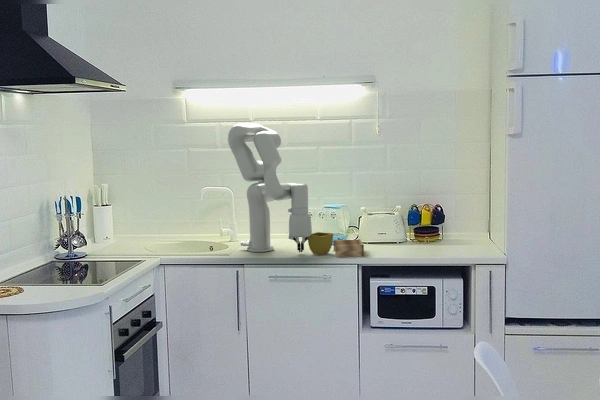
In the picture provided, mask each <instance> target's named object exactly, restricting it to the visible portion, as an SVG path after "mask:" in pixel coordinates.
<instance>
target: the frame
mask: <svg viewBox="0 0 600 400" xmlns="http://www.w3.org/2000/svg"><path fill="white" fill-rule="evenodd" d="M333 251H334V252H335V257H336V258H338V257H341V258H342V257H345V258H346V257H364V255H365V254H364V253H365V245H364V243H363V242H362V240H361V239H359V238H358V239H333Z"/></svg>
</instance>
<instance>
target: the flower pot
mask: <svg viewBox="0 0 600 400" xmlns="http://www.w3.org/2000/svg"><path fill="white" fill-rule="evenodd" d="M307 238H308V240H307V242H308V243H307V244H308V247H309V250H310V251H311V253H312V254H314V255H321V256H322V255H326V254H328V253H330V251H331V249H332V247H333V246H332V245H333V243H334V233H331V232H321V231H317V232H314V233H312V235H311V236H309V237H307Z"/></svg>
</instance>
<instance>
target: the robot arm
mask: <svg viewBox="0 0 600 400" xmlns="http://www.w3.org/2000/svg"><path fill="white" fill-rule="evenodd" d="M227 135H228V136H227V141H228V142H227V143H228V146H229V149H230V151H231V153H232V154H233V156H234V159H235V161H236V164H237V166H238V169H239V172H240V174H241V176H242V178H243V180H244V181H245V182H249V183H250V182H251V183H252V182H255V183H252V184H250V185H249V186H248V187H247V190H246V199H247V204H248V213H249V214H248V215H249V216H248V217H249V240H247V241H240V247H247V248H246V251H248V252H251V253H252V252H253V253H266V252H271V251H272V252H273V251H274V250H275V248H274V247H275V246H272V244H271V214H270V212H271V211H270V208H269V205H268V202H273V201H278V202H279V201H284V200H286V201H287V200H290V201H291V202H290V203H291V204H290V205H291V208H288V211H287V212H288V213H291V214H289V219H288V239H289V240H291V241H294V242H295V243H296V245H297V246H296V247H297V251H298V253H303V251H304V250H305V243H306V242H308V238H307V237H309V236H311V235H312V234H313V233H312V231H313V229H312V218H311V214H310V213H309V195H308V194H309V188H308V185H307V184H306V183H294V182H281V183H280V181H279V178H278V176H277V168H278V166H279V165H280V164H281V162H282V157H281V156H280V153H279V151H278V148H280V147H281V143H282V139H281V138H282V137H281V136H280V134H279V133H278V132H276V131H275V130H272V129H270V128H268V127H265V126H263V125H261V124H259V123H258V124H257V123H238V124H235V125H233V126H232V127H231V128H230V130H229V132H228V134H227ZM251 142H252V143H253V144H254V147H255V148H256V149H255V150H256V152H257V153H258V155H259V158H260V159H261V160H257V159H256V157H255V155H254V154H253V151H252V149H251V148H250V147H249V146H248V144H247V143H251ZM300 238H301V241H300Z"/></svg>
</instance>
